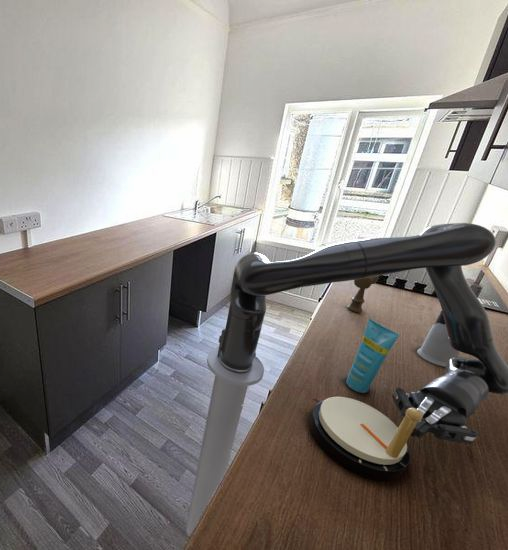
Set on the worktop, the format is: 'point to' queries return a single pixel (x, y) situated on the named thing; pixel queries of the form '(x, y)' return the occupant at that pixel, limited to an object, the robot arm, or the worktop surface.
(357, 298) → the kendama
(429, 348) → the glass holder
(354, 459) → the dial base
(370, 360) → the tube
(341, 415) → the wheel
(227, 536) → the worktop surface
